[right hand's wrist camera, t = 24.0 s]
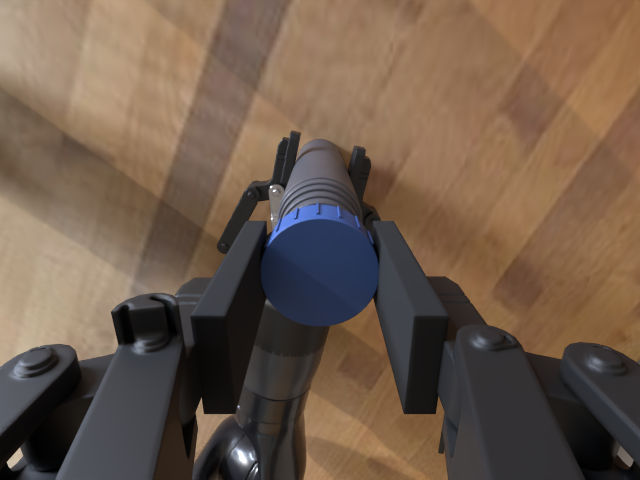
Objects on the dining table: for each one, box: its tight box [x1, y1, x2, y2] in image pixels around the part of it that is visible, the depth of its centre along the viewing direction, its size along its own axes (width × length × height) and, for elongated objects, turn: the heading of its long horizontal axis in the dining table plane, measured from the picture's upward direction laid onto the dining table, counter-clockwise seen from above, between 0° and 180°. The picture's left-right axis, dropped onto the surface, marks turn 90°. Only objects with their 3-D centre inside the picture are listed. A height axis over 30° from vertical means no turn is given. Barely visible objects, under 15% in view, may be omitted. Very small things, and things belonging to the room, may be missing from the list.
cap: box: [261, 203, 379, 326], centre depth 14 cm, size 4×4×2 cm
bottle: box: [277, 139, 362, 224], centre depth 24 cm, size 4×4×23 cm
